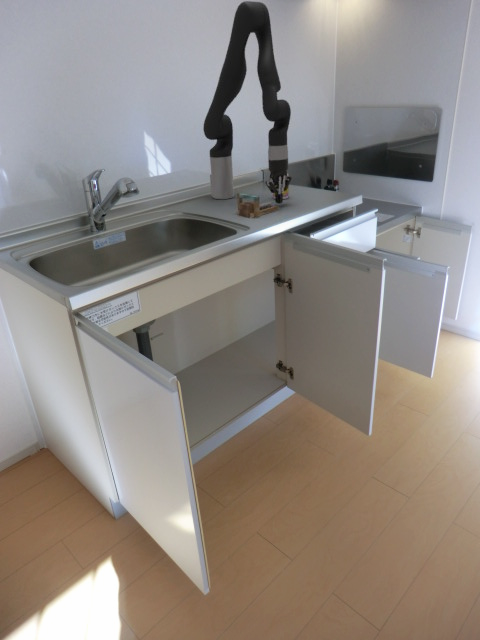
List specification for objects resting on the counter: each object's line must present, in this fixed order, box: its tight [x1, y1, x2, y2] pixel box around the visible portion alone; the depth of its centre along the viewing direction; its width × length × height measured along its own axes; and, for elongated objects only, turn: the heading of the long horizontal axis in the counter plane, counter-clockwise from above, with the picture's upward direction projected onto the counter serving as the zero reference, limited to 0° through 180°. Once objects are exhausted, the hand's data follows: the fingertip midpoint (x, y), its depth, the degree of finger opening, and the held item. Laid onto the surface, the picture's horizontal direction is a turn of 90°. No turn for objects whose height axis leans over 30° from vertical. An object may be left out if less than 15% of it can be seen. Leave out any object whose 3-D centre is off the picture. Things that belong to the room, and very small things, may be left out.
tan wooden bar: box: [259, 201, 274, 210], centre depth 186 cm, size 3×9×3 cm, turn 132°
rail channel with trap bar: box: [236, 192, 279, 219], centre depth 183 cm, size 10×14×8 cm
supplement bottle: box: [272, 172, 290, 200], centre depth 201 cm, size 7×7×13 cm
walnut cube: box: [239, 201, 254, 218], centre depth 181 cm, size 5×5×5 cm
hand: (279, 203), depth 191 cm, fingers closed
